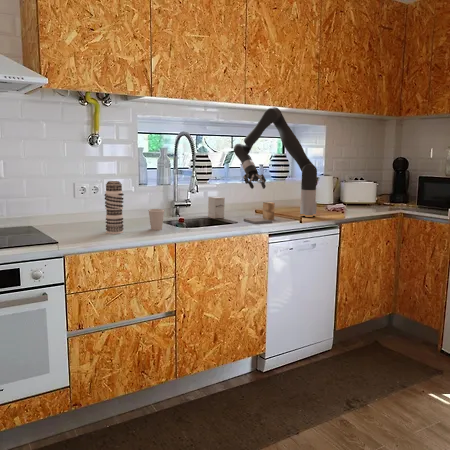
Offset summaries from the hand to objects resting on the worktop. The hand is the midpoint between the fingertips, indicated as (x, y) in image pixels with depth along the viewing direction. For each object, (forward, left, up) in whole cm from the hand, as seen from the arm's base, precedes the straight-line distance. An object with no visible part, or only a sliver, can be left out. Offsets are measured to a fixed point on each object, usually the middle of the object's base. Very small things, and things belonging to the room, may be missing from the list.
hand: (258, 187), depth 291 cm
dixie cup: (+75, +21, -18) cm, 80 cm away
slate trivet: (+12, +19, -18) cm, 29 cm away
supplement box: (+27, -5, -18) cm, 33 cm away
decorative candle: (+97, +22, -18) cm, 101 cm away
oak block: (0, +12, -18) cm, 21 cm away
